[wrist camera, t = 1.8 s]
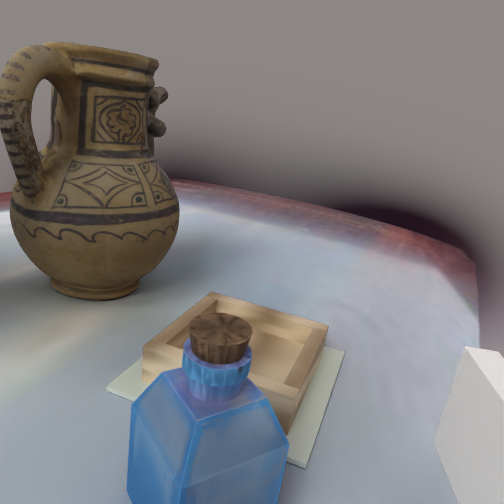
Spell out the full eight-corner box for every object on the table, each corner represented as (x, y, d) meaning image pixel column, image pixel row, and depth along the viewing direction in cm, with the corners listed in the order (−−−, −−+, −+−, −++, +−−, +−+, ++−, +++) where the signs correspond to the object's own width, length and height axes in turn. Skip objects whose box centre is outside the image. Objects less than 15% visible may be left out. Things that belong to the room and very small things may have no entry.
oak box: (141, 381, 35) (143, 346, 34) (208, 319, 46) (211, 291, 45) (287, 435, 32) (294, 398, 31) (322, 354, 43) (328, 325, 42)
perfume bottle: (217, 455, 30) (240, 293, 26) (271, 531, 25) (309, 347, 21) (126, 490, 26) (137, 309, 22) (169, 586, 22) (192, 378, 18)
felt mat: (105, 390, 34) (105, 386, 34) (199, 310, 49) (200, 307, 48) (305, 468, 30) (306, 464, 29) (344, 355, 44) (344, 351, 44)
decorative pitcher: (77, 350, 39) (80, 36, 30) (-49, 289, 46) (-74, 20, 37) (210, 278, 57) (233, 72, 49) (106, 243, 64) (112, 57, 56)
